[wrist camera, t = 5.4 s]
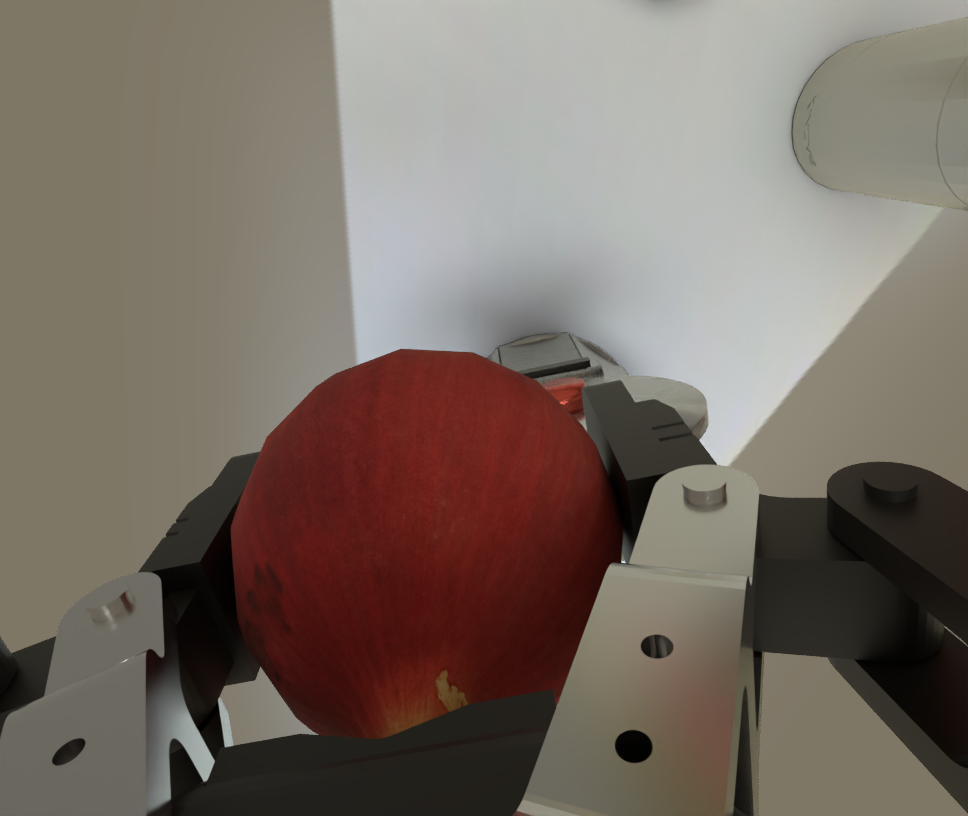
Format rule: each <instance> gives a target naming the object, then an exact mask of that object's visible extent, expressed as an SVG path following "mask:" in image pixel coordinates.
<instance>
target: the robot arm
mask: <svg viewBox="0 0 968 816" xmlns="http://www.w3.org/2000/svg"><path fill="white" fill-rule="evenodd" d="M792 135H793V144H794V150H795V152H796V155H797V158H798V161H799V163H800V164H801V166H802V168H803V169H804V171H805V172H806V173H807V174H808V175H809V176H810V177H811V178H812V179H813V180H814V181H815V182H817V183H819V184H821V185H823V186H825V187H827V188H831V189H835V190H840V191H846V192H852V193H859V194H864V195H869V196H875V197H882V198H888V199H894V200H901V201H907V202H913V203H920V204H926V205H932V206H939V207H945V208H952V209H958V210H964V211H968V17H967V18H962V19H958V20H953V21H949V22H944V23H940V24H935V25H931V26H926V27H921V28H917V29H912V30H908V31H902V32H898V33H893V34H889V35H885V36H880V37H876V38H872V39H867V40H863V41H859V42H856V43H854V44H851V45H849V46H847V47H845V48H842V49H841V50H839V51H838V52H837V53H835V54H834V55H832V56H831V57H829V58H828V59H827V60H826V61H825V62H824V63H823V64H822V65H821V66H820V67H819V68H818V69H817V70H816V71H815V73H814V74H813V76H812V77H811V78H810V80H809V81H808V83H807V84H806V86H805V88H804V90H803V92H802V94H801V96H800V98H799V100H798V103H797V107H796V111H795V114H794V119H793V131H792ZM582 401H583V407H584V414H585V420H586V427H587V433H588V434H589V436H590V437H591V439H592V440H593V441H594V443H595V444H596V446H597V449H598V451H599V454H600V456H601V458H602V461H603V463H604V466H605V468H606V471H607V473H608V476H609V478H610V481H611V483H612V485H613V488H614V490H615V493H616V497H617V501H618V504H619V508H620V512H621V518H622V526H623V545H622V554H623V557H624V559H625V562H626V563H617V562H613V563H611V564H610V566H609V567H608V569H607V571H606V573H605V576H604V579H603V581H602V584H601V587H600V590H599V592H598V595H597V598H596V601H595V603H594V606H593V609H592V612H591V614H590V617H589V620H588V623H587V625H586V628H585V631H584V633H583V636H582V639H581V642H580V644H579V647H578V650H577V653H576V655H575V658H574V661H573V664H572V666H571V669H570V672H569V675H568V677H567V680H566V683H565V685H564V688H563V691H562V694H561V696H560V699H559V702H558V705H556V700H555V696H554V691H553V689H551V690H545V691H539V692H534V693H528V694H523V695H517V696H511V697H506V698H500V699H494V700H489V701H483V702H477V703H472V704H468V705H466V706H463V707H461V708H458V709H456V710H453V711H451V712H448V713H446V714H443V715H441V716H438V717H436V718H433V719H431V720H428V721H426V722H423V723H421V724H418V725H416V726H414V727H411V728H409V729H406V730H404V731H401V732H399V733H396V734H394V735H391V736H388V737H385V738H380V739H369V738H354V737H339V736H324V735H309V734H297V735H292V736H286V737H280V738H274V739H269V740H263V741H257V742H252V743H246V744H240V745H235V746H233V740H232V734H231V728H230V722H229V716H228V712H227V710H226V707H225V705H224V703H223V701H222V699H221V697H220V694H221V692H222V690H223V687H224V686H226V685H232V684H237V683H243V682H248V681H254V680H255V679H256V676H257V674H258V671H259V669H260V665H259V663H258V662H257V660H256V659H255V658H254V656H253V655H252V653H251V652H250V650H249V649H248V647H247V645H246V643H245V640H244V637H243V635H242V632H241V629H240V627H239V624H238V621H237V609H236V597H235V584H234V572H233V560H232V542H231V525H232V522H233V519H234V516H235V513H236V510H237V508H238V505H239V502H240V499H241V496H242V494H243V491H244V489H245V487H246V484H247V482H248V480H249V477H250V475H251V473H252V470H253V468H254V466H255V464H256V461H257V459H258V457H259V454H260V452H261V451H260V452H256V453H251V454H246V455H241V456H236V457H233V458H231V459H230V460H229V461H228V463H227V464H226V466H225V467H224V469H223V470H222V471H221V473H220V474H219V476H218V477H217V479H216V480H215V481H214V483H213V484H212V486H210V487H208V488H207V489H206V490H205V491H203V492H202V493H201V494H199V495H198V496H197V497H196V498H194V499H193V500H192V501H191V502H189V503H188V504H187V506H186V507H185V509H184V510H183V511H182V513H181V514H180V515H179V517H178V518H177V520H176V523H174V524H173V525H172V526H171V528H170V529H169V531H168V532H167V533H166V537H165V538H163V539H162V540H161V541H160V543H159V544H158V546H157V547H156V548H155V550H154V551H153V552H152V554H151V555H150V557H149V558H148V559H147V561H146V562H145V564H144V565H143V566H142V568H141V569H140V571H139V572H138V573H133V574H129V575H125V576H122V577H119V578H116V579H113V580H111V581H109V582H107V583H105V584H103V585H101V586H99V587H97V588H95V589H94V590H92V591H90V592H89V593H88V594H86V595H85V596H83V597H82V598H80V599H79V600H78V601H77V602H76V603H74V604H73V605H72V606H71V607H70V608H69V609H68V610H67V612H66V613H65V614H64V615H63V617H62V619H61V620H60V623H59V626H58V630H57V635H56V636H55V637H53V638H50V639H48V640H45V641H42V642H40V643H37V644H35V645H32V646H29V647H27V648H24V649H21V650H19V651H16V652H14V653H11V652H10V651H9V649H8V648H7V646H6V645H5V643H4V642H3V640H2V639H1V637H0V816H759V756H760V755H759V754H760V734H761V715H762V695H763V694H762V693H763V675H764V656H765V655H764V654H765V652H771V653H783V654H796V655H807V656H819V657H828V659H829V661H830V663H831V664H832V665H833V666H834V668H835V669H836V670H837V671H838V672H839V673H840V674H841V675H842V677H843V678H844V679H845V680H846V681H847V682H848V683H849V684H850V685H851V686H852V687H853V689H854V690H855V691H856V692H857V693H858V694H859V695H860V696H861V697H862V698H863V699H864V701H865V702H866V703H867V704H868V705H869V706H870V707H871V708H872V709H873V710H874V712H875V713H876V714H877V715H878V716H879V717H880V718H881V719H882V720H883V721H884V722H885V724H886V725H887V726H888V727H889V728H890V729H891V730H892V731H893V732H894V733H895V734H896V736H897V737H898V738H899V739H900V740H901V741H902V742H903V743H904V744H905V745H906V746H907V748H908V749H909V750H910V751H911V752H912V753H913V754H914V755H915V756H916V757H917V758H918V760H919V761H920V762H921V763H922V764H923V765H924V766H925V767H926V768H927V769H928V771H929V772H930V773H931V774H932V775H933V776H934V777H935V778H936V779H937V780H938V781H939V782H940V784H941V785H942V786H943V787H944V788H945V789H946V790H947V791H948V792H949V793H950V795H951V796H952V797H953V798H954V799H955V800H956V801H957V802H958V803H959V804H960V805H961V806H962V807H963V809H964V810H965V811H966V812H967V813H968V647H967V646H966V645H965V644H964V643H963V642H961V641H960V640H959V639H958V638H957V637H955V636H954V635H953V634H952V633H950V632H949V631H948V630H947V629H945V628H944V626H946V627H947V628H948V629H950V630H951V631H952V632H953V633H954V634H956V635H957V636H958V637H959V638H961V639H962V640H963V641H964V642H965V643H966V644H967V645H968V491H966V490H964V489H962V488H961V487H959V486H957V485H955V484H954V483H952V482H950V481H948V480H946V479H945V478H943V477H941V476H939V475H937V474H935V473H933V472H931V471H928V470H925V469H922V468H919V467H916V466H912V465H907V464H902V463H893V462H867V463H860V464H855V465H851V466H848V467H845V468H843V469H841V470H839V471H837V472H836V473H834V474H833V475H832V476H831V477H830V479H829V480H828V483H827V498H783V497H772V496H766V495H761V494H759V488H758V485H757V483H756V482H755V481H754V479H752V478H751V477H750V476H749V475H747V474H745V473H744V472H742V471H739V470H737V469H734V468H730V467H726V466H720V465H717V464H716V462H715V461H714V460H713V458H712V457H711V456H710V454H709V453H708V452H707V451H706V449H705V448H704V447H703V445H702V444H701V443H700V441H699V440H698V439H697V437H696V436H695V435H693V433H692V431H691V430H690V428H689V427H688V426H687V424H685V423H684V420H683V419H682V418H681V416H680V415H679V414H678V412H677V411H676V410H675V409H674V408H673V407H671V406H669V405H667V404H664V403H662V402H660V401H658V400H656V399H651V400H646V401H641V402H636V403H635V401H634V400H633V398H632V396H631V395H630V393H629V392H628V390H627V389H626V387H625V385H624V384H623V382H622V381H621V380H617V381H612V382H607V383H602V384H597V385H592V386H587V387H582Z"/></svg>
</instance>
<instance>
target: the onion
mask: <svg viewBox="0 0 968 816" xmlns="http://www.w3.org/2000/svg"><path fill="white" fill-rule="evenodd" d="M231 542H232V560H233V572H234V584H235V597H236V609H237V621H238V624H239V627H240V629H241V632H242V635H243V637H244V640H245V643H246V645H247V647H248V649H249V650H250V652H251V653H252V655H253V656H254V658H255V659H256V660H257V662H258V663H259V665H260V666H261V668H262V669H263V671H264V672H265V673H266V675H267V676H268V678H269V679H270V681H271V682H272V684H273V685H274V687H275V688H276V690H277V691H278V692H279V694H280V695H281V697H282V698H283V700H284V701H285V703H286V704H287V705H288V707H289V708H290V710H291V711H292V712H293V714H294V715H295V717H296V718H297V719H298V720H300V721H301V722H302V723H303V724H304V725H306V726H307V727H308V728H309V729H311V730H312V731H313V732H315V733H317V734H319V735H324V736H339V737H354V738H369V739H380V738H385V737H388V736H391V735H394V734H396V733H399V732H401V731H404V730H406V729H409V728H411V727H414V726H416V725H418V724H421V723H423V722H426V721H428V720H431V719H433V718H436V717H438V716H441V715H443V714H446V713H448V712H451V711H453V710H456V709H458V708H461V707H463V706H466V705H468V704H472V703H477V702H483V701H489V700H494V699H500V698H506V697H511V696H517V695H523V694H528V693H534V692H539V691H545V690H551V689H553V691H554V696H555V700H556V705H558V702H559V699H560V696H561V694H562V691H563V688H564V685H565V683H566V680H567V677H568V675H569V672H570V669H571V666H572V664H573V661H574V658H575V655H576V653H577V650H578V647H579V644H580V642H581V639H582V636H583V633H584V631H585V628H586V625H587V623H588V620H589V617H590V614H591V612H592V609H593V606H594V603H595V601H596V598H597V595H598V592H599V590H600V587H601V584H602V581H603V579H604V576H605V573H606V571H607V569H608V567H609V566H610V564H611V563H613V562H617V563H621V559H622V545H623V526H622V518H621V512H620V508H619V504H618V501H617V497H616V493H615V490H614V488H613V485H612V483H611V481H610V478H609V476H608V473H607V471H606V468H605V466H604V463H603V461H602V458H601V456H600V454H599V451H598V449H597V446H596V444H595V443H594V441H593V440H592V439H591V437H590V436H589V434H588V433H587V431H586V430H585V428H584V427H583V425H582V424H581V423H580V422H579V421H578V420H577V419H576V418H575V417H574V416H573V415H572V414H571V413H570V412H568V411H567V410H566V409H565V408H564V407H563V406H562V405H561V404H560V403H559V402H558V401H557V400H556V399H555V398H554V397H553V396H552V395H551V394H550V393H549V392H548V391H547V390H546V389H545V388H544V387H543V386H542V385H541V384H540V383H539V382H538V381H537V380H534V379H532V378H530V377H527V376H525V375H523V374H521V373H518V372H516V371H514V370H512V369H509V368H507V367H505V366H502V365H500V364H498V363H496V362H493V361H491V360H489V359H487V358H484V357H482V356H480V355H477V354H475V353H471V352H452V351H432V350H412V349H399V350H397V351H394V352H391V353H389V354H386V355H384V356H381V357H378V358H376V359H373V360H370V361H368V362H365V363H362V364H360V365H357V366H354V367H352V368H349V369H346V370H344V371H341V372H339V373H336V374H334V375H333V376H331V377H330V378H328V379H327V380H325V381H324V382H322V383H321V384H319V385H318V386H316V387H315V388H314V389H313V390H312V392H310V393H309V394H308V396H307V397H306V398H305V399H304V400H303V401H302V402H301V403H300V404H299V405H298V406H297V407H296V408H295V409H294V410H293V411H292V412H291V413H290V414H289V415H288V416H287V417H286V418H285V419H284V420H283V421H282V422H281V423H280V424H279V425H278V426H277V427H276V428H275V429H274V430H273V431H272V432H271V433H270V434H269V436H267V438H266V440H265V443H264V445H263V447H262V450H261V452H260V454H259V457H258V459H257V461H256V464H255V466H254V468H253V470H252V473H251V475H250V477H249V480H248V482H247V484H246V487H245V489H244V491H243V494H242V496H241V499H240V502H239V505H238V508H237V510H236V513H235V516H234V519H233V522H232V525H231Z"/></svg>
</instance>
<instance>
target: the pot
mask: <svg viewBox="0 0 968 816" xmlns="http://www.w3.org/2000/svg"><path fill="white" fill-rule="evenodd" d="M487 359H489V360H491V361H493V362H496V363H498V364H500V365H502V366H505V367H507V368H509V369H512V370H514V371H516V372H518V373H521V374H523V375H525V376H527V377H530V378H532V379H534V378H539V377H544V376H549V375H554V374H559V373H564V372H569V371H573V370H578V369H583V368H588V367H593V366H598V365H601V366H602V369H603V372H604V377H606V376H629V375H628V374H627V372H626V371H625V369H624V368H623V367H621V366H620V365H618V364H617V363H616V362H615V361H614V360H613V358H612V357H611V356H610V355H609V354H607V353H606V352H605V351H603V350H602V349H601V348H600V347H598V346H596V345H594V344H592V343H591V342H589V341H586V340H584V339H581V338H578V337H575V336H574V335H572V334H571V333H569V334H568V333H567V332H565V333H560V334H538V335H532V336H528V337H524V338H521V339H518V340H516V341H513V342H511V343H509V344H507V345H502V346H499V348H496V349H495V351H494V352H493V354H492V355H491V356H489V357H488V358H487ZM621 560H622V561H624V560H625V559H624V557H623V554H622V559H621Z"/></svg>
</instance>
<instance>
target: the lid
mask: <svg viewBox="0 0 968 816" xmlns="http://www.w3.org/2000/svg"><path fill="white" fill-rule="evenodd" d="M534 380H537V381H538V382H539V383H540V384H541V385H542V386H543V387H544V388H545V389H546V390H547V391H548V392H549V393H550V394H551V395H552V396H553V397H554V398H555V399H556V400H557V401H558V402H559V403H560V404H561V405H562V406H563V407H564V408H565V409H566V410H567V411H568V412H570V413H571V414H572V415H573V416H574V417H575V418H576V419H577V420H578V421H579V422H580V423H581V424H582V425H583V427H584V428H585V430H586V431H587V427H586V420H585V414H584V407H583V401H582V387H587V386H592V385H597V384H602V383H607V382H612V381H617V380H621V381H622V382H623V384H624V385H625V387H626V389H627V390H628V392H629V393H630V395H631V396H632V398H633V400H634V401H635V403H636V402H641V401H646V400H651V399H656V400H658V401H660V402H662V403H664V404H667V405H669V406H671V407H673V408H674V409H675V410H676V411H677V412H678V414H679V415H680V416H681V418H682V419H683V420H684V423H685V424H687V426H688V427H689V428H690V430H691V431H692V433H693V435H695V436H696V437H697V439H698V440H700V439H701V437H702V436H703V434H704V433H705V432H706V429H707V427H708V411H707V403H706V399H705V397H704V395H703V394H702V393H701V392H700V391H699V390H698V389H696V388H694V387H693V386H691V385H688V384H686V383H683V382H680V381H676V380H672V379H666V378H660V377H651V376H606V377H604V372H603V369H602V366H601V365H598V366H593V367H588V368H583V369H578V370H573V371H569V372H564V373H559V374H554V375H549V376H544V377H539V378H534Z"/></svg>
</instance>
